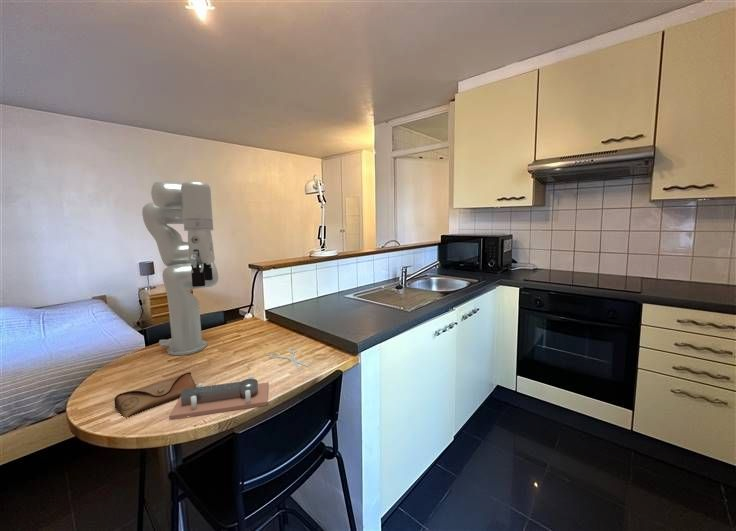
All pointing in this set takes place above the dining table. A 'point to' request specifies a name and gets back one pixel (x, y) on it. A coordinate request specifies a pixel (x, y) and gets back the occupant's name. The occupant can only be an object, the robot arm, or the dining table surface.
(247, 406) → the peg rack
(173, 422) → the dining table surface
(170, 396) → the sunglasses case
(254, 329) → the dining table surface
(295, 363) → the scissors
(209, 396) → the grey spoon
